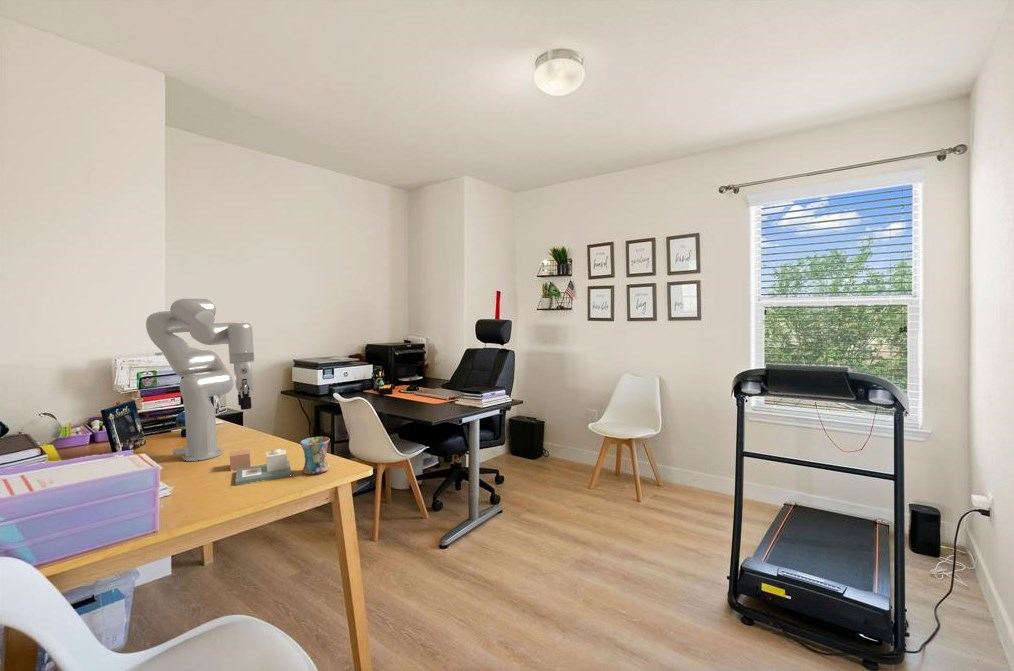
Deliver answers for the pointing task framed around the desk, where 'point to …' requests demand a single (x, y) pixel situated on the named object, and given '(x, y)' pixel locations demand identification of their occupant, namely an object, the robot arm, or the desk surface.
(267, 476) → the baseplate
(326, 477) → the desk surface
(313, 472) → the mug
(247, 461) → the terracotta brick
